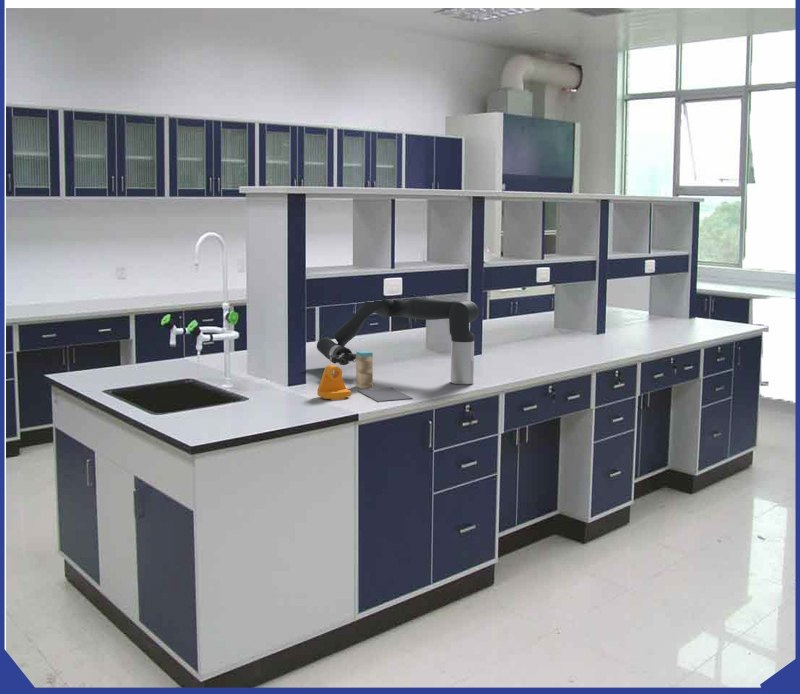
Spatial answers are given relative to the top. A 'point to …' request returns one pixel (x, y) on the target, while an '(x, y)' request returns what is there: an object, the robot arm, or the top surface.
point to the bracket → (332, 384)
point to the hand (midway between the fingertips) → (354, 361)
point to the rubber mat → (385, 394)
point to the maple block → (364, 369)
